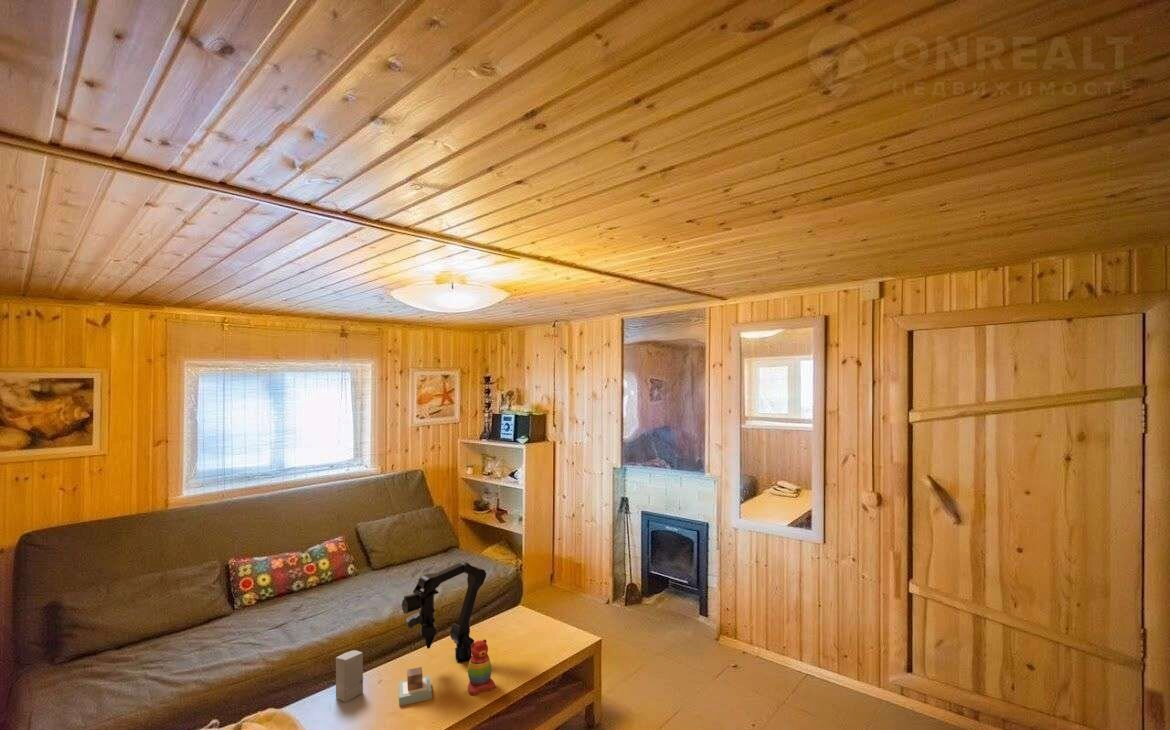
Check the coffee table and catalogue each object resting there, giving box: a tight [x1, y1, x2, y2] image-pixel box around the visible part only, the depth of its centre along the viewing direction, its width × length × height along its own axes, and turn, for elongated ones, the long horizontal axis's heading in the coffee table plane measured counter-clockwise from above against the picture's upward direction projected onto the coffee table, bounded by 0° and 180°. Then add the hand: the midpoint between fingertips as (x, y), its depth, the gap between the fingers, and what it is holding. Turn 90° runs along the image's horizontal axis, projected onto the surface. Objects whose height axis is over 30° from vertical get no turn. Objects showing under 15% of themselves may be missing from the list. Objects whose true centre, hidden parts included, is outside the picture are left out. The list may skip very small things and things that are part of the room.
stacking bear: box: [467, 639, 496, 696], centre depth 213 cm, size 11×10×18 cm
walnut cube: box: [406, 666, 423, 691], centre depth 209 cm, size 6×6×6 cm
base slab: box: [398, 675, 433, 707], centre depth 209 cm, size 12×12×3 cm
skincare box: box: [335, 649, 364, 703], centre depth 210 cm, size 8×7×16 cm
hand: (427, 643), depth 225 cm, fingers open, 9 cm apart
